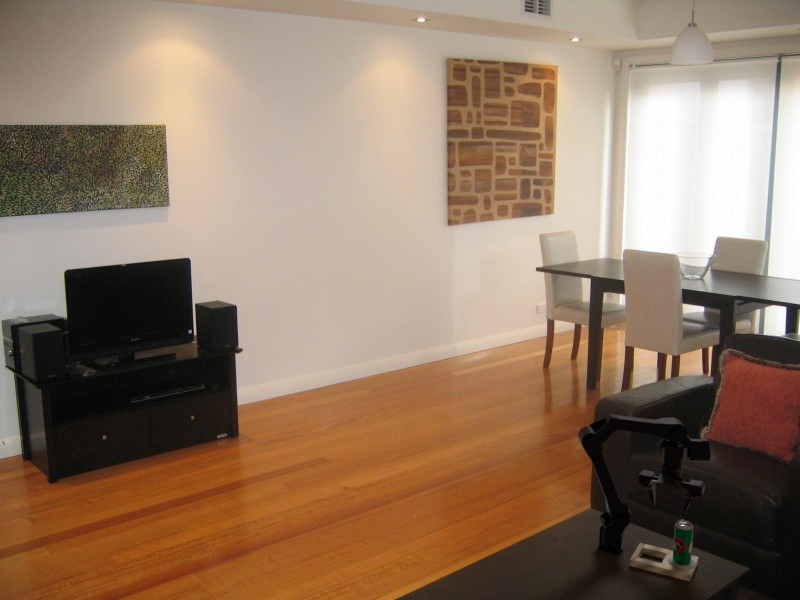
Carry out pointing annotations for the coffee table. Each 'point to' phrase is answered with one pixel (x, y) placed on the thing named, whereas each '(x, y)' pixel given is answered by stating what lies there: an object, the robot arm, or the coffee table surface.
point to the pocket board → (667, 564)
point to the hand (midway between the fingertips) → (669, 509)
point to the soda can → (683, 542)
